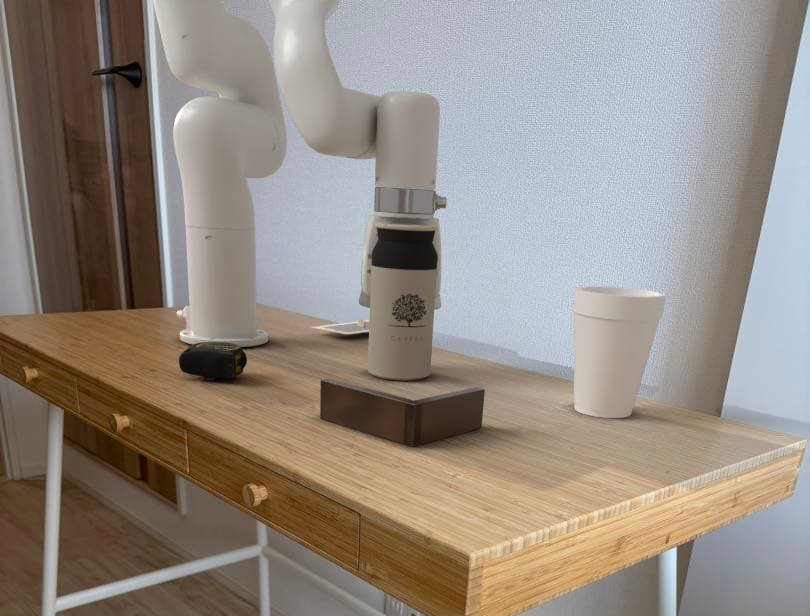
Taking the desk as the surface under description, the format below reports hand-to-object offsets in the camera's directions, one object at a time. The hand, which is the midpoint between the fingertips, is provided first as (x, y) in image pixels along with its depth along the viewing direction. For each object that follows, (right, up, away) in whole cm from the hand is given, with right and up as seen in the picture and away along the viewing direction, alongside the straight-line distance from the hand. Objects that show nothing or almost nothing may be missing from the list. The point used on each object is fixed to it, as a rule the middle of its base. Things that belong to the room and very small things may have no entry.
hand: (397, 353), depth 110 cm
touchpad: (-6, +8, +24) cm, 26 cm away
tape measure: (-21, -6, -12) cm, 25 cm away
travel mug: (0, -4, -4) cm, 6 cm away
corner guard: (+1, -13, -26) cm, 30 cm away
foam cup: (+23, -10, -17) cm, 30 cm away
